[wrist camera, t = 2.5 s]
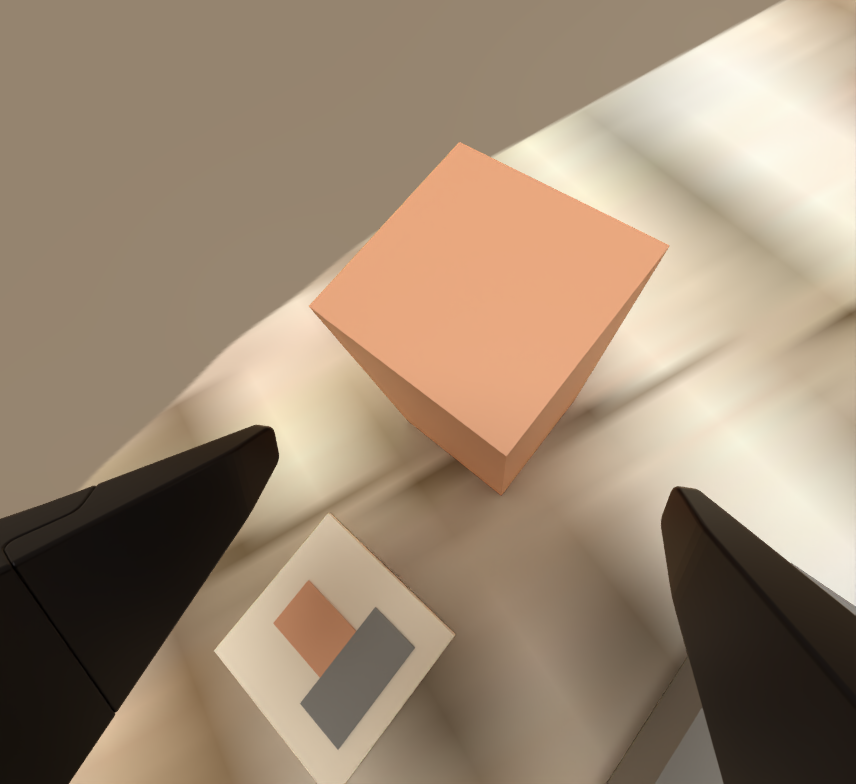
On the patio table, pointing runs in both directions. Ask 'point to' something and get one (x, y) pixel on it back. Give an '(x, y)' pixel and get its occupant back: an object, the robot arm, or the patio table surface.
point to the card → (333, 650)
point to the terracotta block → (487, 307)
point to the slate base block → (678, 735)
